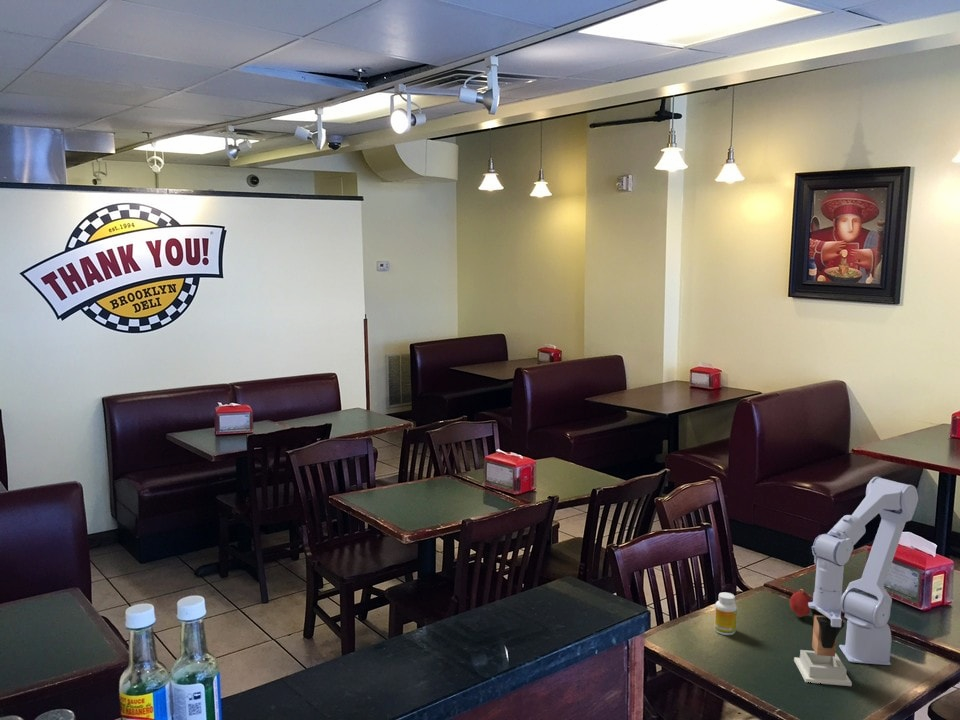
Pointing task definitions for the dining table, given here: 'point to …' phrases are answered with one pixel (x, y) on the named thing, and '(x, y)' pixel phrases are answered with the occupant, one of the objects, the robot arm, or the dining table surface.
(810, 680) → the socket
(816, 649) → the peg
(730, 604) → the supplement bottle
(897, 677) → the dining table surface
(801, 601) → the onion
